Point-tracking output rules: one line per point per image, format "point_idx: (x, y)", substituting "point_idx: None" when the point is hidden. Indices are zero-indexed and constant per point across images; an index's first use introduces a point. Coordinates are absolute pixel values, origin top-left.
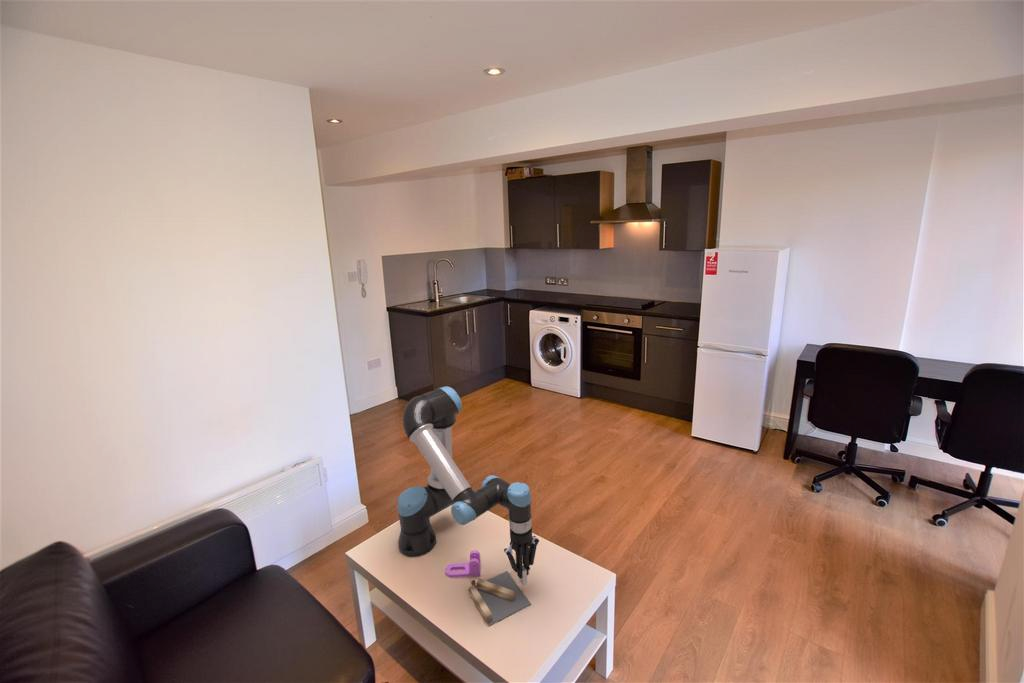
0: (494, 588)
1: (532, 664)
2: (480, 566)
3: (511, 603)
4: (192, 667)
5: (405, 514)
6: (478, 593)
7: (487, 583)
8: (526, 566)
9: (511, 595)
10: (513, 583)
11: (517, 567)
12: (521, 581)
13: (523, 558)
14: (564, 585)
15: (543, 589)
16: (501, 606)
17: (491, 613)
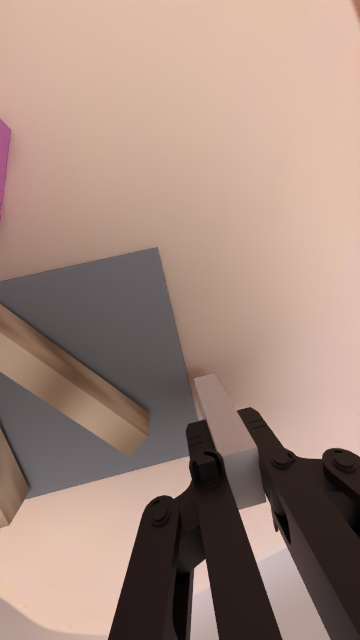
0: (43, 394)
1: None
2: (8, 147)
3: None
4: None
5: None
6: None
7: (4, 349)
8: (286, 533)
9: (126, 454)
10: (165, 337)
11: (198, 550)
12: (200, 405)
13: (326, 595)
14: (356, 399)
15: (275, 395)
16: (81, 437)
17: (7, 522)
